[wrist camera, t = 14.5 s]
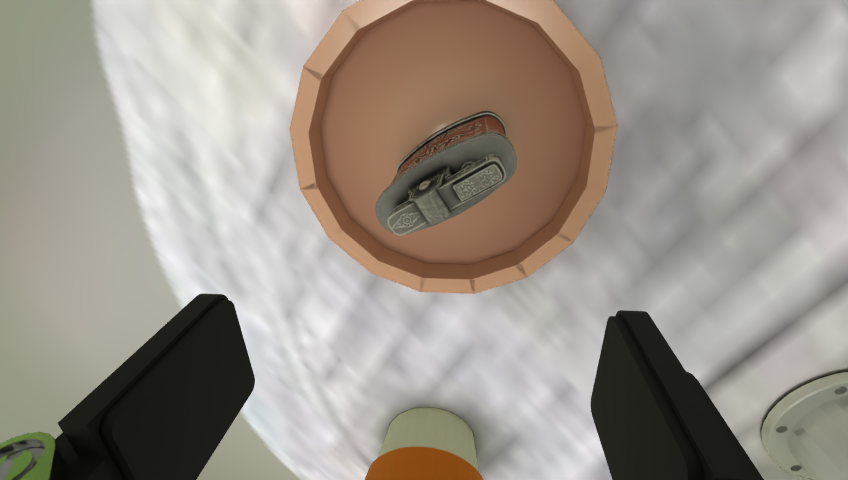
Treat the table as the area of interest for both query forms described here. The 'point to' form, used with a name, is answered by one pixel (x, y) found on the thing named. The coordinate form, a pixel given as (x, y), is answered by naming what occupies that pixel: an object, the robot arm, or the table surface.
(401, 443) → the reusable coffee cup
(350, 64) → the round bowl
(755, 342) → the table surface
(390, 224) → the lighter
